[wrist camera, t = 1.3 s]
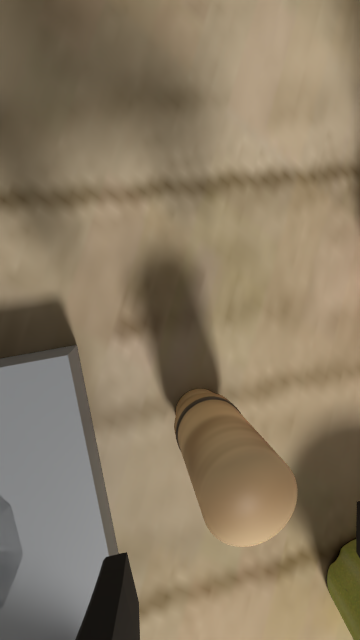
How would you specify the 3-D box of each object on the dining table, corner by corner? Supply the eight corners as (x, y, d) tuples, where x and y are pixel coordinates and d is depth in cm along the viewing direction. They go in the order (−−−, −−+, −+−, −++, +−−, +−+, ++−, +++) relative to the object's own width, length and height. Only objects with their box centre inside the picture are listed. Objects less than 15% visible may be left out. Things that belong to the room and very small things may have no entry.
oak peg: (231, 432, 22) (303, 532, 13) (173, 446, 21) (208, 560, 12) (223, 376, 21) (293, 440, 12) (164, 389, 20) (193, 465, 12)
